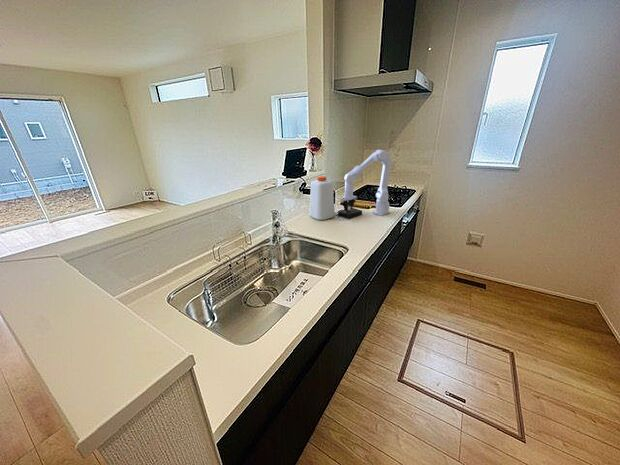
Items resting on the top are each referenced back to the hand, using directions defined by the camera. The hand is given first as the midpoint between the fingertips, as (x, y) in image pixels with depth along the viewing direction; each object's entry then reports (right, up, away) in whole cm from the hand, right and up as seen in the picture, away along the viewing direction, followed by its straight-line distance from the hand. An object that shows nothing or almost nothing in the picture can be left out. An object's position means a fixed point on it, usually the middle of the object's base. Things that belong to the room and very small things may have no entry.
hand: (348, 210), depth 179 cm
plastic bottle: (-19, -5, 0) cm, 19 cm away
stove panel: (+1, -3, +1) cm, 4 cm away
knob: (0, 0, 0) cm, 1 cm away
